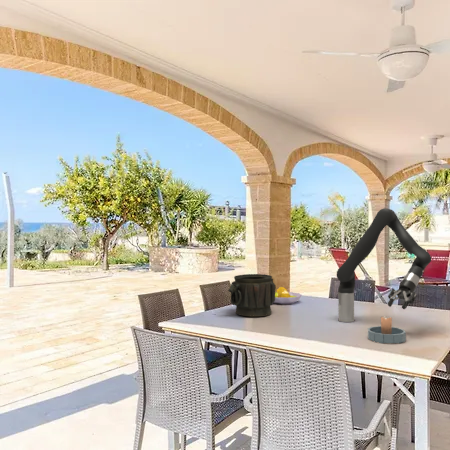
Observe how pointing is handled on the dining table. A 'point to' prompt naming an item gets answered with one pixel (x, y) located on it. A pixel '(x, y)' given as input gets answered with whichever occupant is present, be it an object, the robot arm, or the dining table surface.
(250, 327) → the dining table surface
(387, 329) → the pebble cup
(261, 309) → the vessel
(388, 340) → the bowl
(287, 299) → the fruit bowl
